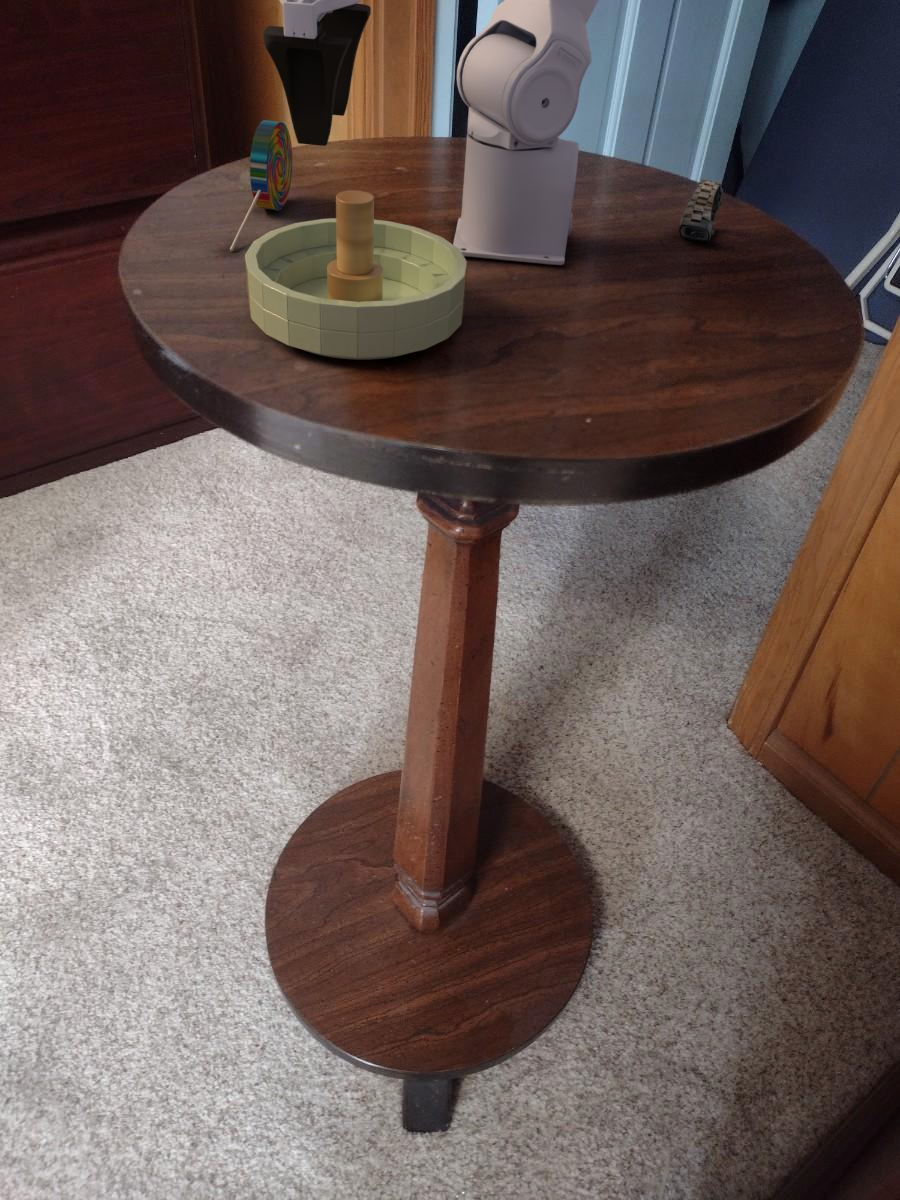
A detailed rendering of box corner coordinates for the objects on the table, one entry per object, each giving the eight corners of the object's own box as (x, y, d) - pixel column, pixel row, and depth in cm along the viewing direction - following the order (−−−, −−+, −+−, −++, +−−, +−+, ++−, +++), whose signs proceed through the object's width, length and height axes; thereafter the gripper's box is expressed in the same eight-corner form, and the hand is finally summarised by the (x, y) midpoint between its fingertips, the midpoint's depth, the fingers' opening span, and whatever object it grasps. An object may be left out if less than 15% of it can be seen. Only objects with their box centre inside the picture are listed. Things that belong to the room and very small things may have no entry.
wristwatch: (677, 247, 90) (678, 219, 85) (702, 199, 90) (705, 168, 86) (708, 259, 89) (710, 231, 85) (733, 211, 90) (737, 180, 85)
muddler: (385, 299, 73) (388, 189, 67) (378, 322, 70) (380, 209, 64) (332, 293, 73) (331, 184, 68) (323, 317, 70) (320, 203, 65)
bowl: (468, 284, 78) (473, 228, 75) (453, 378, 66) (458, 316, 63) (275, 266, 78) (272, 209, 75) (226, 356, 66) (220, 293, 63)
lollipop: (230, 284, 82) (281, 176, 90) (246, 286, 82) (296, 178, 90) (213, 211, 76) (269, 103, 84) (231, 213, 76) (285, 105, 84)
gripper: (280, -113, 68) (288, 97, 77) (228, -89, 57) (245, 152, 66) (379, -105, 68) (376, 105, 77) (346, -78, 57) (347, 162, 66)
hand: (322, 128), depth 72 cm, fingers open, 7 cm apart
